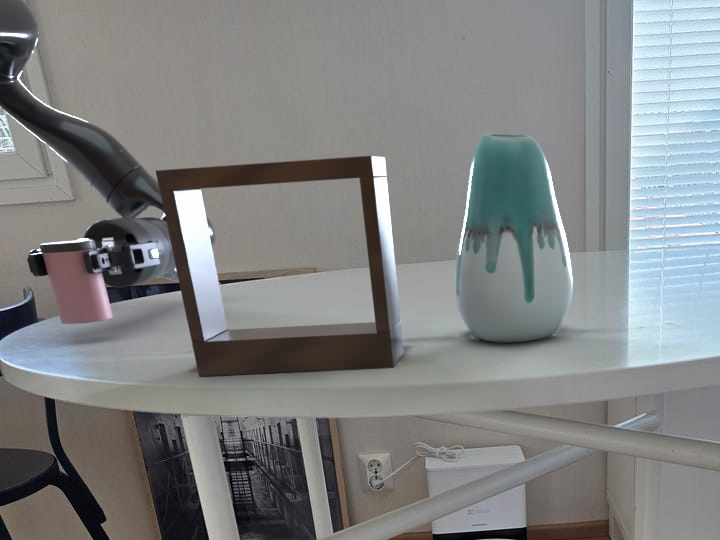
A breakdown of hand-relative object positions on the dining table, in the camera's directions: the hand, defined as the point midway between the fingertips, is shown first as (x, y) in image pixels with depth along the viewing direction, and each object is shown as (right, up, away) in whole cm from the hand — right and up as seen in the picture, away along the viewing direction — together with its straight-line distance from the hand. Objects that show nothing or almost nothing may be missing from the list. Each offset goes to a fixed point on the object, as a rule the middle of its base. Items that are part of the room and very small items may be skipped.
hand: (61, 264), depth 91 cm
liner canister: (0, -4, +5) cm, 7 cm away
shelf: (+28, -14, -11) cm, 34 cm away
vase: (+48, -10, -5) cm, 50 cm away
